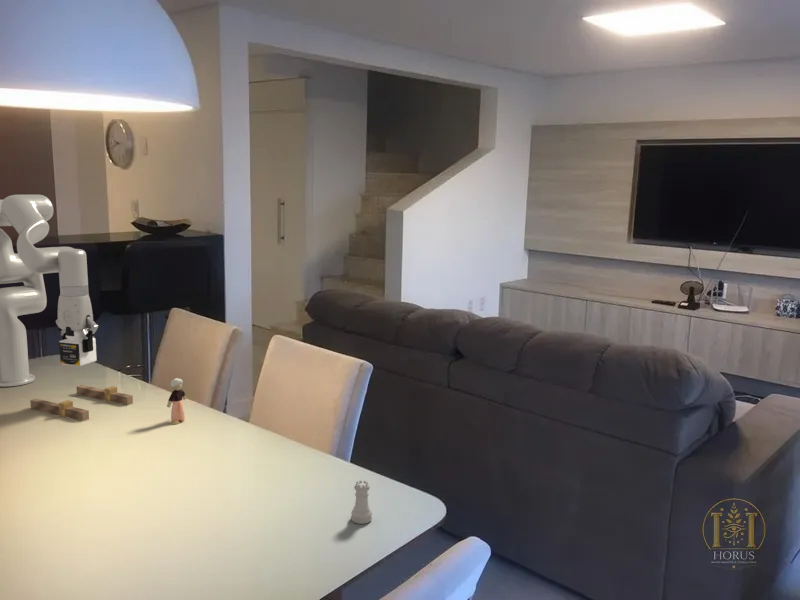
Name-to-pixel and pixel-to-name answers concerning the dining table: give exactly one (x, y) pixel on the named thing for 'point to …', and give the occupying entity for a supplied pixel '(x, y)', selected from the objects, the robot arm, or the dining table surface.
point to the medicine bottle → (75, 349)
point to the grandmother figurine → (177, 402)
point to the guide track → (76, 413)
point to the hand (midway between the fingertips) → (78, 349)
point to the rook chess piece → (361, 504)
